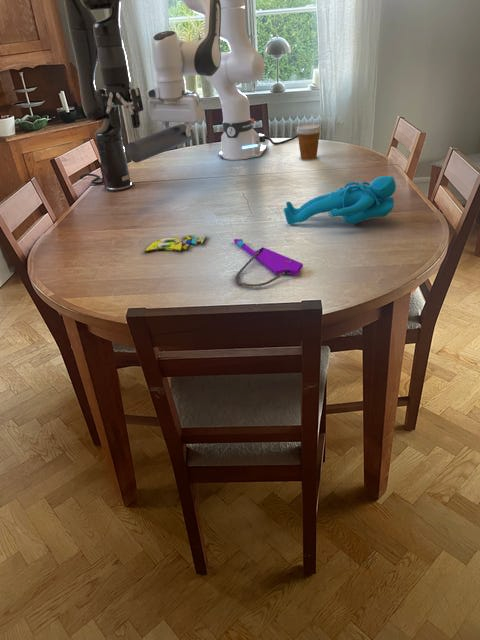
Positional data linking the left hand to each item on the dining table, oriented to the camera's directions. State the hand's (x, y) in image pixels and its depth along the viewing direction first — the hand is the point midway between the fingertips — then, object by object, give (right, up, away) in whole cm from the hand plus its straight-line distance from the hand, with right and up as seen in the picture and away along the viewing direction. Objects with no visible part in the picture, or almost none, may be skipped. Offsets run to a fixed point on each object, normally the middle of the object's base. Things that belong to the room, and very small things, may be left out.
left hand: (125, 127), depth 141 cm
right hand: (+13, +5, +20) cm, 25 cm away
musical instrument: (+37, -44, -25) cm, 63 cm away
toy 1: (+16, -36, -10) cm, 41 cm away
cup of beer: (+61, +8, +52) cm, 81 cm away
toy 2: (+61, -29, -6) cm, 68 cm away
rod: (+8, -2, +15) cm, 18 cm away
